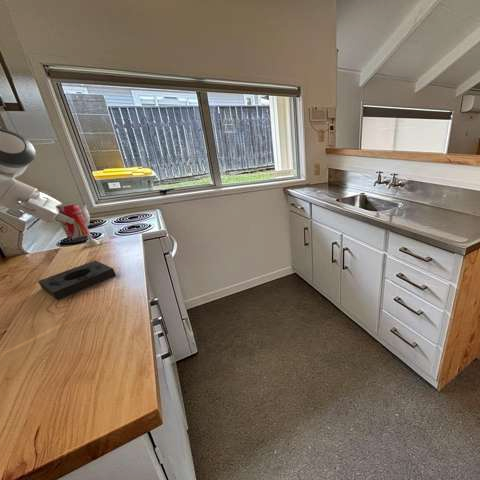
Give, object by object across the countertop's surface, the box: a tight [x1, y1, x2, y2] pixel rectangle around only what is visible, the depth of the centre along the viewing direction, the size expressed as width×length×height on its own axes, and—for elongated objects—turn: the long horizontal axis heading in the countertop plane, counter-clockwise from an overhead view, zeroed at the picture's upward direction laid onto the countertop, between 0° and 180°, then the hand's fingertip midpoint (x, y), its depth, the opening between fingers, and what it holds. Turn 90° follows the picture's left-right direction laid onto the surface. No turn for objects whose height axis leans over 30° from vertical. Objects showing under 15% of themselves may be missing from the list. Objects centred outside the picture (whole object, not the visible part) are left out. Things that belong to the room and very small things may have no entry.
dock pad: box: [37, 260, 117, 301], centre depth 88 cm, size 16×14×3 cm
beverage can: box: [56, 202, 91, 240], centre depth 90 cm, size 6×6×12 cm
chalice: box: [77, 204, 100, 248], centre depth 116 cm, size 7×7×18 cm
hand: (74, 219), depth 91 cm, fingers closed on beverage can, 6 cm apart
